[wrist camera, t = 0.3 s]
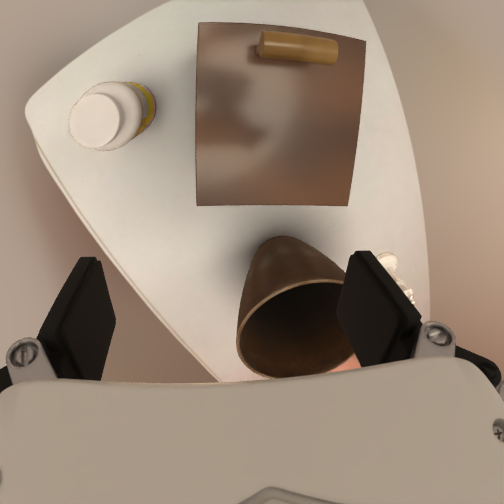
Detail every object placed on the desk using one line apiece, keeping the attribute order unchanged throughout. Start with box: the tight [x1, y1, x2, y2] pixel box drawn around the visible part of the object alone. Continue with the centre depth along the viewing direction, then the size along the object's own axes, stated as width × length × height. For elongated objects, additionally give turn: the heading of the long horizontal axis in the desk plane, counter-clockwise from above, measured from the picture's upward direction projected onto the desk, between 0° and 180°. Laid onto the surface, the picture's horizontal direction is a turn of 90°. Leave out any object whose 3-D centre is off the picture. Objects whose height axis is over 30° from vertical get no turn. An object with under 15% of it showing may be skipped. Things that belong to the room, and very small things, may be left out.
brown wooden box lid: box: [195, 22, 366, 206], centre depth 21 cm, size 15×14×5 cm
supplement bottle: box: [69, 82, 156, 151], centre depth 26 cm, size 7×7×13 cm
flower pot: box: [236, 236, 355, 379], centre depth 38 cm, size 15×15×16 cm
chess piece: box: [377, 253, 415, 304], centre depth 44 cm, size 5×5×10 cm
